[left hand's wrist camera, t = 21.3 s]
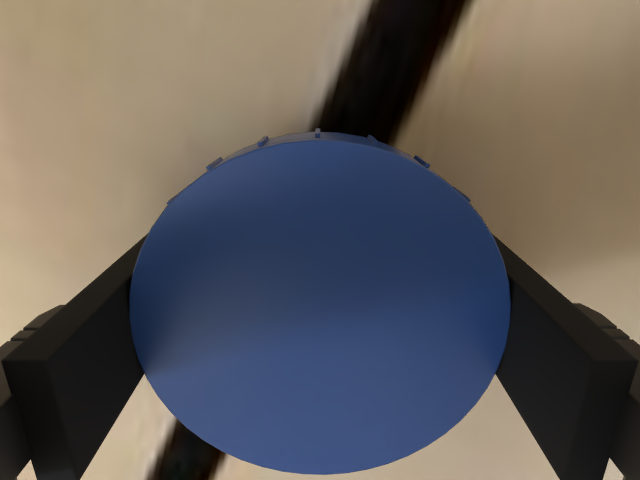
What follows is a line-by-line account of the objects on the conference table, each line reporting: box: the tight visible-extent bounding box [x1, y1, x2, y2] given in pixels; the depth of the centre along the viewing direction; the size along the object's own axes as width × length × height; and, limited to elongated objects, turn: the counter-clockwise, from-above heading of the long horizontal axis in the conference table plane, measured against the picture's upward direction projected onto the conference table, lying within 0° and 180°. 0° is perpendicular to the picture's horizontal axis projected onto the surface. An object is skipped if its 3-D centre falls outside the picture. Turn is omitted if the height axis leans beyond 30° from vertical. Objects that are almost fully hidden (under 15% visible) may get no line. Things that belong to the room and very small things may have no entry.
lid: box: [129, 128, 511, 475], centre depth 11 cm, size 9×9×2 cm
